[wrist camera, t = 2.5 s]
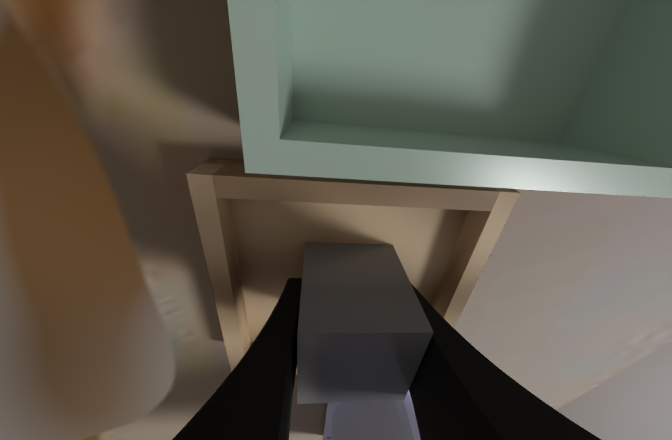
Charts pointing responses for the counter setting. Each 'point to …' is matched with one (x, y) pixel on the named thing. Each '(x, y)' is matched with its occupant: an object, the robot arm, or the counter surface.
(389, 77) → the green bin
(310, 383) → the stone block
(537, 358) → the counter surface
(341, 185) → the oak tray
